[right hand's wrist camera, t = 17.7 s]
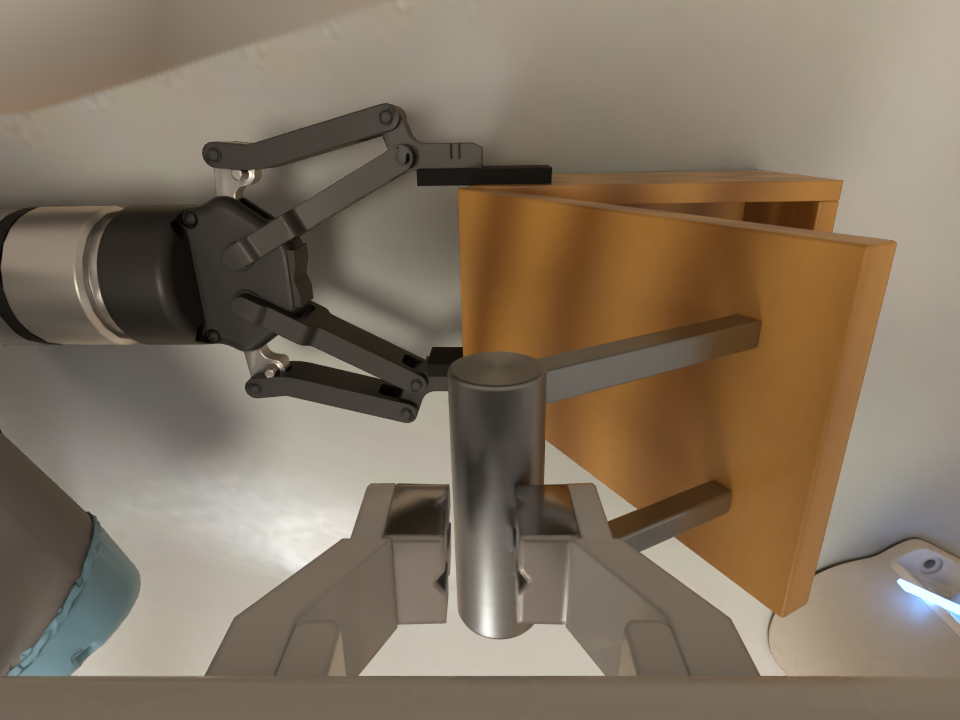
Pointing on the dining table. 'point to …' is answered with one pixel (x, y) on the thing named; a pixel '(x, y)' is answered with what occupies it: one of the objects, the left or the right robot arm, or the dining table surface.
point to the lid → (656, 382)
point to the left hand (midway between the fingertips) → (546, 273)
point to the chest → (704, 194)
